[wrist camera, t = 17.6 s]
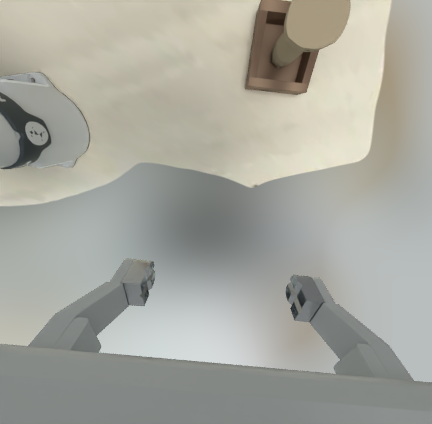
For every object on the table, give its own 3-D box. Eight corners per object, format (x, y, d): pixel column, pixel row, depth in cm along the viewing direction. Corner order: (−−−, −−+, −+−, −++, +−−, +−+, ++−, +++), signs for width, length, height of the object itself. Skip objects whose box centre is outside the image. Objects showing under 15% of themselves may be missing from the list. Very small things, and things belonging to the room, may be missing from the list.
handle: (264, 37, 30) (294, -20, 17) (300, 40, 30) (358, -14, 17) (258, 72, 33) (281, 45, 20) (292, 75, 33) (337, 51, 20)
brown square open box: (245, 88, 34) (247, 85, 30) (256, 13, 29) (261, -3, 25) (296, 94, 34) (306, 92, 31) (317, 21, 29) (331, 6, 25)
